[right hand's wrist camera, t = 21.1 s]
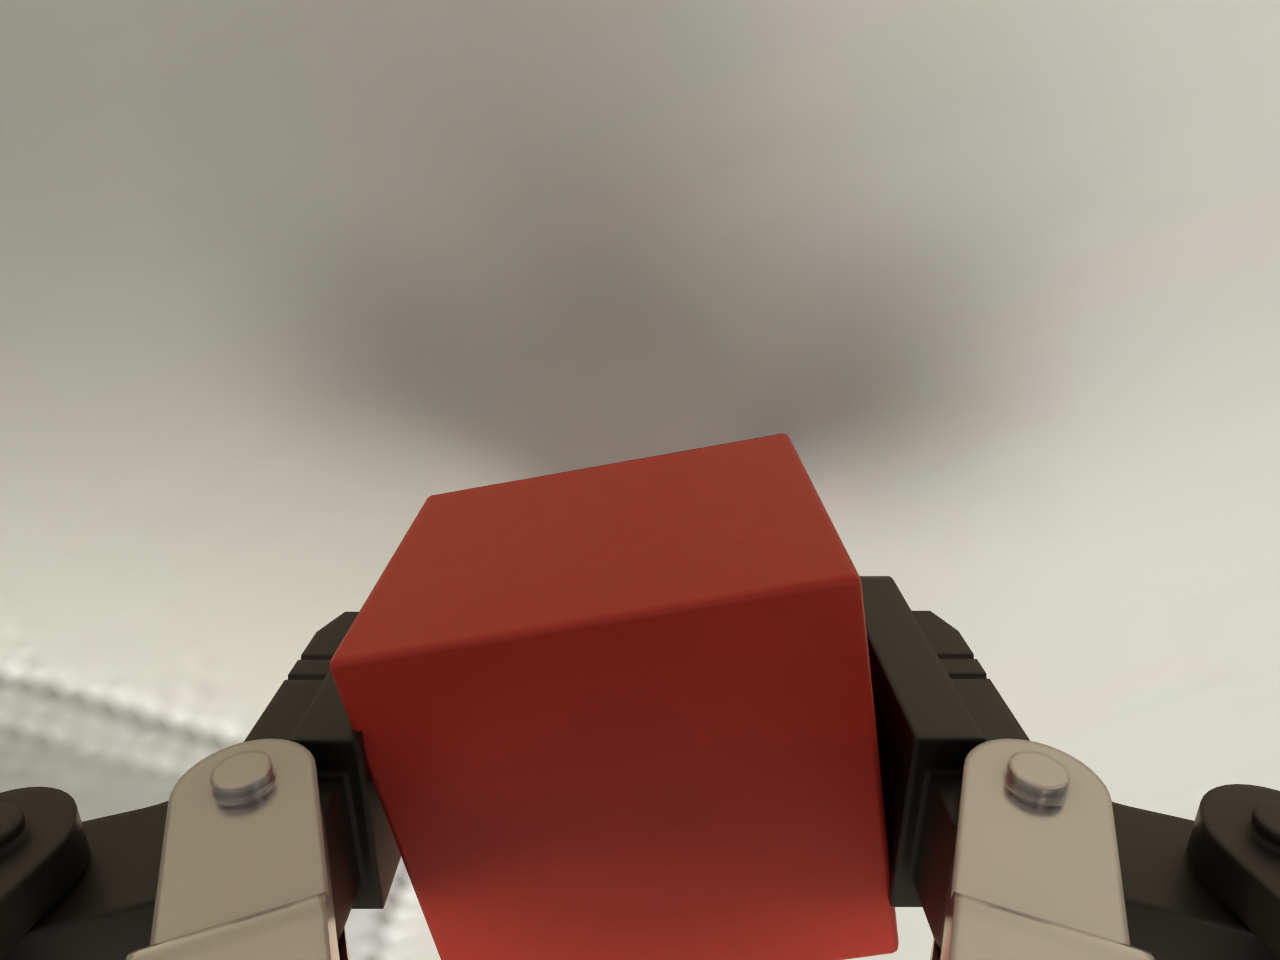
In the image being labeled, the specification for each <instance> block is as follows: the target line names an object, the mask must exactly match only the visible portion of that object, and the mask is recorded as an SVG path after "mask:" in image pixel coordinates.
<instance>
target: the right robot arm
mask: <svg viewBox="0 0 1280 960" xmlns="http://www.w3.org/2000/svg"><path fill="white" fill-rule="evenodd" d="M859 577H860V579H861V584H862V593H863V603H864V613H865V623H866V632H867V642H868V652H869V661H870V671H871V681H872V691H873V700H874V710H875V720H876V729H877V739H878V749H879V758H880V768H881V778H882V788H883V797H884V807H885V817H886V826H887V836H888V846H889V856H890V882H889V891H888V900H889V903H890V906H891V907H923V909H924V912H925V915H926V917H927V920H928V923H929V925H930V928H931V931H932V933H933V936H934V939H933V945H932V950H931V957H930V960H1280V791H1277V790H1273V789H1269V788H1265V787H1260V786H1254V785H1243V784H1233V785H1224V786H1220V787H1216V788H1214V789H1212V790H1210V791H1208V792H1207V793H1206V794H1205V795H1204V796H1203V798H1202V800H1201V802H1200V806H1199V809H1198V812H1197V815H1196V818H1195V821H1192V820H1188V819H1183V818H1179V817H1174V816H1170V815H1165V814H1161V813H1156V812H1152V811H1147V810H1143V809H1138V808H1134V807H1129V806H1125V805H1122V804H1118V803H1114V802H1112V801H1111V797H1110V794H1109V792H1108V790H1107V788H1106V786H1105V784H1104V783H1103V782H1102V781H1101V779H1100V778H1099V777H1098V776H1097V775H1096V774H1095V773H1094V772H1093V771H1092V770H1091V769H1090V768H1088V767H1087V766H1086V765H1084V764H1083V763H1082V762H1080V761H1079V760H1077V759H1075V758H1074V757H1072V756H1071V755H1069V754H1066V753H1064V752H1062V751H1060V750H1058V749H1055V748H1053V747H1050V746H1048V745H1044V744H1041V743H1037V742H1033V741H1030V740H1029V738H1028V737H1027V735H1026V734H1025V732H1024V731H1023V729H1022V728H1021V726H1020V725H1019V723H1018V722H1017V720H1016V719H1015V717H1014V715H1013V714H1012V712H1011V711H1010V709H1009V708H1008V706H1007V705H1006V703H1005V702H1004V700H1003V699H1002V697H1001V696H1000V694H999V693H998V691H997V689H996V688H995V686H994V685H993V683H992V682H991V680H990V679H987V678H986V673H985V671H984V670H983V668H982V667H981V665H980V663H979V662H978V660H977V659H974V654H973V653H972V651H971V650H970V648H969V647H968V645H967V644H966V642H965V641H964V639H963V637H962V636H961V634H960V633H959V631H958V630H956V629H955V628H953V627H952V626H951V625H949V624H948V623H946V622H945V621H944V620H942V619H941V618H939V617H938V616H936V615H935V614H934V613H932V612H931V611H911V609H910V608H909V606H908V604H907V603H906V601H905V599H904V597H903V596H902V594H901V592H900V591H899V589H898V587H897V585H896V584H895V582H894V580H893V579H892V578H891V577H889V576H859ZM358 613H359V612H344V613H343V614H341V615H340V616H339V617H337V618H336V619H334V620H333V621H332V622H330V623H329V624H327V625H326V626H325V627H323V628H322V629H320V630H319V631H317V632H316V634H315V635H314V637H313V638H312V640H311V641H310V643H309V644H308V646H307V647H306V649H305V650H304V652H303V653H302V655H301V660H298V661H297V663H296V664H295V666H294V667H293V669H292V670H291V672H290V673H289V675H288V680H285V681H284V682H283V684H282V685H281V687H280V688H279V690H278V691H277V693H276V694H275V696H274V697H273V699H272V700H271V702H270V703H269V705H268V706H267V708H266V709H265V711H264V712H263V714H262V715H261V717H260V718H259V720H258V721H257V723H256V724H255V726H254V727H253V729H252V730H251V732H250V733H249V735H248V736H247V738H246V739H245V741H244V742H243V743H239V744H236V745H232V746H230V747H227V748H225V749H222V750H220V751H218V752H216V753H214V754H211V755H209V756H208V757H206V758H205V759H203V760H201V761H200V762H198V763H197V764H196V765H194V766H193V767H192V768H190V769H189V770H188V771H187V772H186V773H185V774H184V775H183V776H182V777H181V778H180V779H179V781H178V782H177V783H176V784H175V786H174V788H173V790H172V792H171V794H170V797H169V801H167V802H164V803H161V804H158V805H154V806H150V807H147V808H143V809H138V810H134V811H129V812H125V813H120V814H116V815H111V816H107V817H102V818H98V819H93V820H89V821H84V822H82V821H81V818H80V815H79V812H78V809H77V805H76V803H75V801H74V799H73V798H72V797H71V796H70V795H69V794H68V793H66V792H64V791H62V790H59V789H55V788H49V787H27V788H21V789H14V790H10V791H6V792H2V793H0V960H350V957H349V950H348V945H347V939H346V933H345V928H344V926H345V924H346V921H347V918H348V916H349V913H350V911H351V909H383V908H384V905H385V902H386V899H387V896H388V893H389V890H390V887H391V884H392V881H393V878H394V875H395V872H396V869H397V866H398V863H399V861H400V858H401V854H400V851H399V849H398V846H397V843H396V841H395V838H394V836H393V833H392V830H391V828H390V825H389V822H388V820H387V817H386V815H385V812H384V809H383V807H382V804H381V802H380V799H379V796H378V794H377V791H376V789H375V786H374V783H373V781H372V778H371V776H370V773H369V768H368V763H367V758H366V752H365V747H364V741H363V734H362V731H356V730H353V729H352V726H351V724H350V721H349V718H348V716H347V713H346V711H345V708H344V705H343V703H342V700H341V698H340V695H339V692H338V690H337V687H336V685H335V682H334V679H333V677H332V674H331V672H330V660H331V658H332V657H333V655H334V653H335V652H336V650H337V648H338V647H339V645H340V643H341V642H342V640H343V638H344V637H345V635H346V633H347V632H348V630H349V628H350V627H351V625H352V623H353V622H354V620H355V618H356V617H357V615H358Z"/></svg>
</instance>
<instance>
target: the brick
mask: <svg viewBox="0 0 1280 960" xmlns="http://www.w3.org/2000/svg"><path fill="white" fill-rule="evenodd" d="M330 672H331V674H332V677H333V679H334V682H335V685H336V687H337V690H338V692H339V695H340V698H341V700H342V703H343V705H344V708H345V711H346V713H347V716H348V718H349V721H350V724H351V726H352V729H353V730H356V731H362V734H363V741H364V747H365V752H366V758H367V763H368V768H369V773H370V776H371V778H372V781H373V783H374V786H375V789H376V791H377V794H378V796H379V799H380V802H381V804H382V807H383V809H384V812H385V815H386V817H387V820H388V822H389V825H390V828H391V830H392V833H393V836H394V838H395V841H396V843H397V846H398V849H399V851H400V854H401V856H402V859H403V862H404V864H405V867H406V869H407V872H408V875H409V877H410V880H411V882H412V885H413V888H414V890H415V893H416V895H417V898H418V901H419V903H420V906H421V908H422V911H423V914H424V916H425V919H426V921H427V924H428V927H429V929H430V932H431V934H432V937H433V940H434V942H435V945H436V947H437V950H438V953H439V955H440V958H441V960H844V959H851V958H859V957H866V956H874V955H881V954H889V953H893V952H895V951H897V949H898V933H897V923H896V914H895V907H891V906H890V903H889V900H888V891H889V882H890V856H889V846H888V836H887V826H886V817H885V807H884V797H883V788H882V778H881V768H880V758H879V749H878V739H877V729H876V720H875V710H874V700H873V691H872V681H871V671H870V661H869V652H868V642H867V632H866V623H865V613H864V603H863V593H862V584H861V579H860V577H859V575H858V573H857V571H856V569H855V567H854V565H853V563H852V561H851V559H850V557H849V555H848V553H847V551H846V549H845V547H844V545H843V543H842V541H841V539H840V537H839V535H838V533H837V531H836V529H835V527H834V525H833V523H832V521H831V519H830V517H829V515H828V513H827V511H826V510H825V508H824V506H823V504H822V502H821V500H820V498H819V496H818V494H817V492H816V490H815V488H814V486H813V484H812V482H811V480H810V478H809V476H808V474H807V472H806V470H805V468H804V466H803V464H802V462H801V460H800V458H799V456H798V454H797V452H796V450H795V448H794V446H793V444H792V442H791V440H790V438H789V437H788V435H786V434H778V435H772V436H766V437H761V438H755V439H749V440H744V441H738V442H732V443H727V444H721V445H715V446H710V447H704V448H698V449H693V450H687V451H682V452H676V453H670V454H665V455H659V456H653V457H648V458H642V459H636V460H631V461H625V462H619V463H614V464H608V465H602V466H597V467H591V468H585V469H580V470H574V471H568V472H563V473H557V474H551V475H546V476H540V477H534V478H529V479H523V480H517V481H512V482H506V483H500V484H495V485H489V486H483V487H478V488H472V489H466V490H461V491H455V492H449V493H444V494H438V495H432V496H430V497H429V498H427V500H426V502H425V503H424V505H423V507H422V508H421V510H420V512H419V513H418V515H417V517H416V518H415V520H414V522H413V523H412V525H411V527H410V528H409V530H408V532H407V533H406V535H405V537H404V538H403V540H402V542H401V543H400V545H399V547H398V548H397V550H396V552H395V553H394V555H393V557H392V558H391V560H390V562H389V563H388V565H387V567H386V568H385V570H384V572H383V573H382V575H381V577H380V578H379V580H378V582H377V583H376V585H375V587H374V588H373V590H372V592H371V593H370V595H369V597H368V598H367V600H366V602H365V603H364V605H363V607H362V608H361V610H360V612H359V613H358V615H357V617H356V618H355V620H354V622H353V623H352V625H351V627H350V628H349V630H348V632H347V633H346V635H345V637H344V638H343V640H342V642H341V643H340V645H339V647H338V648H337V650H336V652H335V653H334V655H333V657H332V658H331V660H330Z"/></svg>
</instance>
